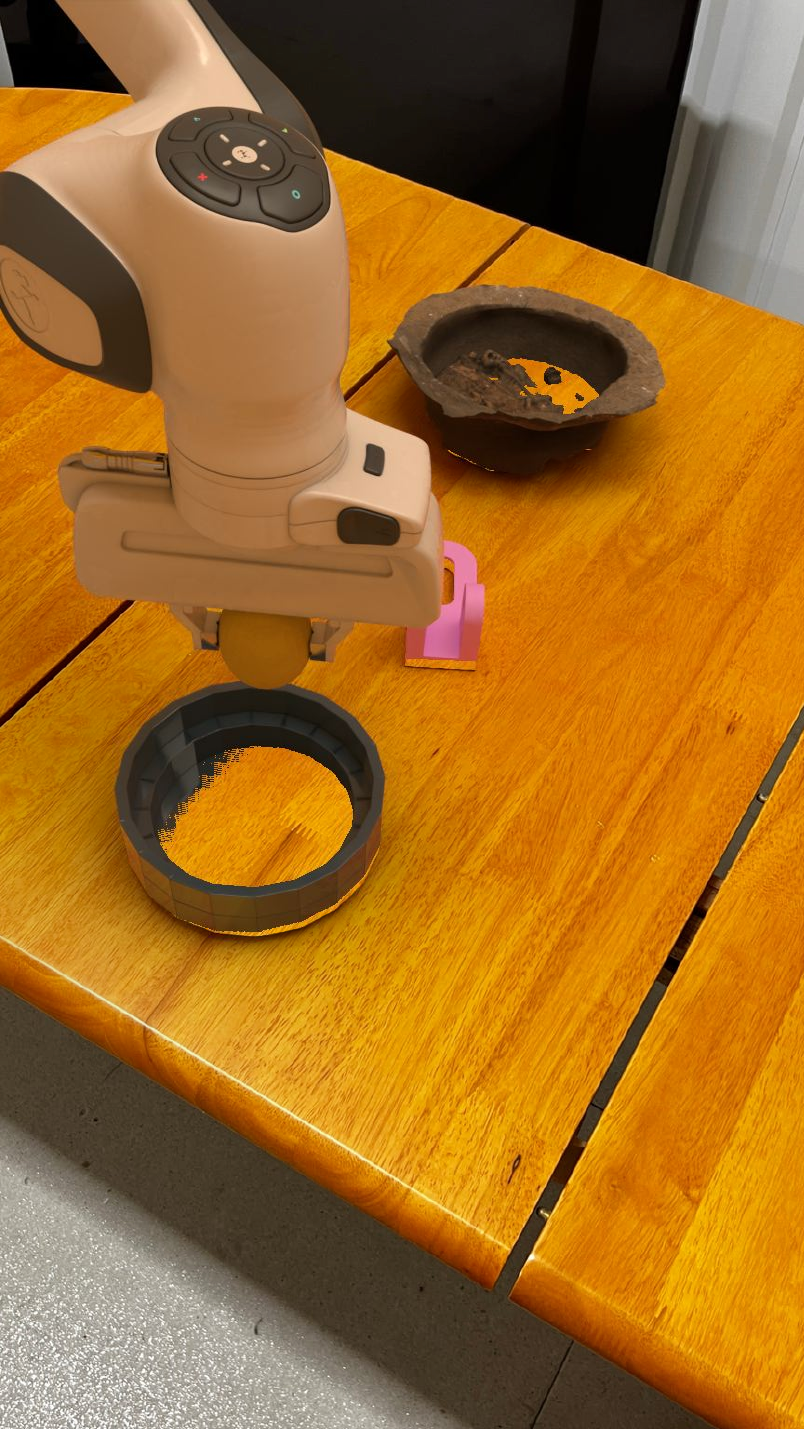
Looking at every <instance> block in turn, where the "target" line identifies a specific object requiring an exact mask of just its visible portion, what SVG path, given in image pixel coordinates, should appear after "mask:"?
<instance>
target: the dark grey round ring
mask: <svg viewBox="0 0 804 1429" xmlns="http://www.w3.org/2000/svg"><path fill="white" fill-rule="evenodd" d="M250 746H257V747H258V746H261V747H273V748H277V747H279V748H285V749H289V750H291V751H295V752H298V753H301V754H305V755H306V756H310V757H311V758H313V759H314V760H315V761H317V762H319V763H321V764H322V765H323V766H324V767H326V768H328V769H329V770H331V771H332V772H333V773H334V774H335V775H336V777H337V778H338V780H339V781H340V783H341V784H342V785H343V786H344V788H346V790H347V792H348V795H349V798H350V802H351V805H352V809H353V820H352V827H351V829H350V831H349V833H348V834H347V836H346V838H345V840H344V842H343V844H342V846H341V848H340V850H339V851H338V852H337V853H336V854H335V855H334V856H333V857H332V858H331V859H330V860H329V861H328V862H327V863H326V864H324V865H323V866H321V867H319V868H317V869H315V870H313V871H311V872H309V873H307V874H305V875H303V876H301V877H299V878H297V879H295V880H291V881H285V882H280V883H275V884H270V885H264V886H259V887H246V886H234V885H222V884H212V883H210V882H207V881H204V880H202V879H199V878H196V877H194V876H191V875H189V874H188V873H186V872H185V871H184V870H183V869H181V868H180V867H179V866H177V865H176V864H175V863H174V862H172V861H171V860H170V859H169V858H168V856H167V854H166V853H165V851H164V850H163V848H162V846H163V845H162V846H161V845H160V842H165V841H169V840H164V841H161V839H159V838H161V837H159V836H161V835H164V834H161V833H164V832H161V831H164V830H165V832H171V831H174V830H171V829H175V828H176V823H175V822H176V819H175V817H174V816H175V814H176V815H182V814H186V813H182V812H186V811H182V810H186V809H182V808H185V807H182V806H185V805H182V804H185V803H188V801H192V800H195V799H192V800H188V799H191V798H195V797H191V796H195V795H193V794H195V792H198V791H200V790H199V789H201V788H202V787H205V788H210V787H206V786H210V785H206V784H210V783H206V782H214V781H210V780H214V779H207V780H208V781H206V780H202V779H206V778H202V777H206V776H202V775H207V776H208V777H207V778H210V777H209V776H214V774H216V775H221V774H217V773H221V772H217V771H222V770H218V769H222V768H218V767H214V766H218V765H214V764H218V763H214V762H221V763H227V761H230V760H227V759H230V758H227V757H231V756H228V755H231V754H228V753H236V752H231V751H236V750H232V749H237V748H238V749H241V748H249V747H250ZM250 748H254V747H250ZM225 750H226V751H225ZM228 750H230V751H228ZM241 750H244V749H241ZM224 752H228V753H224ZM239 752H244V751H240V750H239ZM224 754H227V755H224ZM237 754H240V753H237ZM241 754H243V753H241ZM215 755H216V756H215ZM232 755H235V754H232ZM247 755H248V754H247ZM223 756H225V757H223ZM235 756H239V755H235ZM235 756H234V758H239V757H235ZM242 756H243V755H242ZM215 757H216V758H215ZM219 758H220V759H219ZM223 758H224V759H223ZM232 760H235V759H232ZM236 760H239V759H236ZM204 762H205V763H204ZM231 762H234V761H231ZM236 762H239V761H236ZM211 763H212V764H211ZM203 764H204V765H203ZM220 765H222V764H220ZM223 765H226V764H223ZM228 766H229V765H228ZM219 767H222V766H219ZM223 767H224V766H223ZM214 768H218V769H214ZM227 768H229V767H227ZM214 770H217V771H214ZM214 772H216V773H214ZM225 772H226V771H225ZM225 774H226V773H225ZM199 776H200V777H199ZM216 777H217V776H216ZM211 778H214V777H211ZM202 781H206V782H202ZM202 783H206V784H202ZM202 785H206V786H202ZM213 787H214V786H213ZM195 788H198V789H195ZM385 789H386V773H385V770H384V767H383V763H382V760H381V756H380V753H379V750H378V746H377V744H376V742H375V741H374V740H373V739H372V737H371V736H370V735H369V733H368V732H367V730H366V729H365V728H364V727H363V725H362V724H361V723H360V721H359V720H358V718H357V717H356V716H355V715H353V713H350V712H349V711H348V710H346V709H345V708H343V707H342V706H340V705H339V704H337V703H336V702H335V701H333V700H332V699H331V698H329V697H327V696H325V695H324V694H321V693H319V692H315V691H313V690H310V689H307V688H304V687H301V686H299V685H296V684H292V683H291V682H290V683H288V684H286V685H284V686H282V687H278V688H274V689H259V688H255V687H252V686H249V685H247V684H245V683H243V682H242V681H240V680H236V681H228V682H221V683H215V684H210V685H207V686H205V687H202V688H200V689H198V690H196V691H193V692H191V693H188V694H186V695H183V696H181V697H178V698H176V699H174V700H172V701H171V702H170V703H168V704H167V705H166V706H164V707H163V708H162V709H160V710H159V711H158V712H157V713H155V714H154V715H153V716H151V717H150V718H149V719H147V720H146V721H145V722H144V723H143V724H142V725H141V726H140V728H139V729H138V731H137V732H136V734H135V736H133V738H132V740H131V741H130V742H129V744H128V745H127V746H126V749H125V750H124V752H122V756H121V760H120V764H119V768H118V772H117V776H116V780H115V782H114V790H113V791H114V795H115V796H114V797H115V802H116V809H117V816H118V822H119V823H118V824H119V826H120V831H121V835H122V838H123V842H124V848H125V850H126V854H127V858H128V864H129V866H130V867H131V869H132V871H133V872H134V874H135V876H136V878H137V879H138V881H139V882H140V884H141V886H142V888H143V890H144V891H145V893H146V895H148V897H149V898H151V899H152V898H153V899H154V900H153V899H152V900H153V901H154V902H156V901H157V902H158V903H159V904H158V903H157V902H156V903H157V904H158V905H159V906H161V905H162V906H163V907H164V908H165V909H164V908H163V907H162V906H161V907H162V908H163V909H164V910H166V909H167V910H168V911H169V912H171V913H172V914H173V915H175V916H176V917H178V918H179V919H182V920H186V921H187V922H192V923H194V924H197V925H200V926H202V927H205V928H209V929H211V930H214V931H215V930H216V931H222V932H224V931H233V932H237V931H239V932H244V931H245V932H262V931H263V930H267V929H269V930H270V929H272V928H276V927H280V926H284V925H290V924H293V923H297V922H298V923H299V922H302V921H304V920H306V919H308V918H309V917H311V916H313V915H315V914H316V913H318V912H321V911H323V910H325V909H328V908H329V907H331V906H333V905H335V904H336V903H338V901H339V900H340V899H342V897H343V896H345V895H346V894H347V893H348V892H349V891H350V889H352V888H353V887H354V886H355V885H356V884H357V883H358V882H359V881H360V880H361V879H362V878H363V877H364V875H365V874H366V872H367V870H368V868H369V866H370V864H371V862H372V860H373V858H374V856H375V854H376V852H377V850H378V848H379V846H380V847H381V841H382V830H383V819H384V818H383V817H384V804H385V803H384V802H385ZM195 790H198V791H195ZM205 790H206V789H205ZM198 793H199V792H198ZM198 795H199V794H198ZM188 797H191V798H188ZM198 797H199V796H198ZM198 799H199V798H198ZM182 802H185V803H182ZM192 802H195V801H192ZM178 803H179V804H178ZM178 805H180V806H178ZM186 805H188V804H186ZM178 807H180V808H178ZM186 807H188V806H186ZM178 809H181V810H178ZM187 809H188V808H187ZM178 811H181V812H178ZM187 812H188V810H187ZM179 813H182V814H179ZM169 815H170V816H169ZM169 817H171V818H169ZM176 817H179V816H176ZM382 818H383V819H382ZM177 819H179V818H177ZM178 821H179V820H178ZM166 822H167V823H166ZM166 824H167V825H166ZM174 827H175V828H174ZM167 828H168V829H167ZM161 829H164V830H161ZM381 829H382V830H381ZM158 830H159V831H158ZM167 830H170V831H167ZM158 832H160V833H158ZM171 833H174V832H171ZM171 833H170V834H171ZM158 834H161V835H158ZM166 834H168V833H166ZM173 835H174V834H173ZM168 836H171V835H167V836H165V837H168ZM162 837H164V836H162ZM168 838H172V837H168ZM163 839H165V838H163ZM170 840H172V839H170ZM380 840H381V841H380ZM171 842H172V841H171ZM161 844H162V843H161ZM165 850H167V849H165ZM166 852H167V851H166ZM167 910H166V911H167ZM168 911H167V912H168ZM169 912H168V913H169ZM171 913H170V914H171ZM172 914H171V915H172ZM173 915H172V916H173ZM176 917H175V918H176ZM179 919H178V920H179ZM187 922H186V923H187Z"/></svg>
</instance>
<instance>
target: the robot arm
mask: <svg viewBox="0 0 804 1429" xmlns="http://www.w3.org/2000/svg"><path fill="white" fill-rule="evenodd" d="M55 2H56V3H57V5H59V7H60V8H61V10H63V12H64V13H65V14H66V16H67V17H68V18H69V20H71V22H72V23H73V24H74V26H75V27H76V29H78V31H79V32H80V33H81V35H82V36H83V37H84V38H85V40H87V42H88V43H89V44H90V46H91V47H92V48H93V49H94V51H95V52H96V53H97V55H98V56H99V57H100V58H101V60H103V62H104V63H105V64H106V66H107V67H108V68H109V69H110V71H111V72H112V73H113V75H114V76H115V77H116V78H117V79H118V81H119V82H120V83H121V84H122V86H123V87H124V89H125V90H126V91H127V92H128V94H129V95H130V97H131V99H132V100H133V102H134V103H132V104H130V105H128V106H126V107H124V108H122V109H120V110H118V111H116V112H114V113H112V114H110V115H108V116H106V117H104V118H102V119H100V120H98V121H96V122H94V123H92V124H89V125H88V126H83V127H80V128H77V129H75V130H73V131H70V132H68V133H67V134H65V135H62V136H60V137H59V138H57V139H55V140H53V141H51V142H49V143H47V144H45V145H43V146H41V147H39V148H38V149H35V150H33V151H31V152H30V153H28V154H26V155H24V156H22V157H21V158H19V159H17V160H15V161H14V162H13V163H10V164H9V165H8V166H7V167H5V169H3V170H2V171H0V311H1V314H2V315H3V317H4V319H5V320H6V322H7V323H8V325H9V327H10V328H11V330H12V331H13V332H14V334H15V335H16V336H17V337H18V338H19V339H20V341H21V342H23V344H24V345H26V346H27V347H28V348H29V349H30V350H32V351H34V352H35V353H36V354H38V355H39V356H41V357H43V358H44V359H46V360H48V361H49V362H51V363H53V364H55V365H58V366H60V367H63V368H65V369H67V370H70V371H73V372H75V373H77V374H80V375H82V376H85V377H88V378H90V379H93V380H96V381H99V382H101V383H103V384H105V385H109V386H112V387H115V388H118V389H121V390H124V391H127V392H131V393H135V394H146V393H148V392H151V393H153V394H154V395H155V396H156V397H158V398H159V400H160V401H161V402H162V405H163V425H164V432H165V440H166V441H165V442H166V449H167V452H157V451H147V450H118V449H111V447H107V446H100V445H88V446H84V447H82V450H81V452H75V453H71V454H69V455H67V456H66V457H64V458H63V459H62V460H61V461H60V463H59V465H58V466H57V480H58V484H59V487H60V493H61V498H62V500H63V502H64V504H65V505H66V507H67V508H68V509H69V510H70V511H71V512H72V513H74V517H73V518H74V519H73V534H72V535H73V536H72V537H73V560H74V568H75V574H76V579H77V582H78V584H80V585H81V586H82V587H83V588H85V590H87V591H88V592H89V593H90V594H92V595H93V596H95V597H98V598H105V599H114V600H115V599H116V600H126V601H127V600H128V601H137V602H147V603H158V604H165V605H166V604H167V605H168V610H169V613H170V614H171V615H172V616H173V617H174V618H175V619H176V620H177V621H178V622H179V623H180V624H181V625H182V626H183V627H184V628H185V629H187V631H188V632H191V637H192V638H191V639H192V647H193V649H194V650H198V651H199V650H200V651H202V650H203V651H213V652H214V651H215V652H219V651H220V646H219V640H218V631H219V622H220V617H221V613H222V611H214V610H208V608H209V609H219V610H223V609H227V610H237V611H247V612H257V613H267V614H277V615H287V616H298V617H308V618H310V619H319V620H326V621H313V620H312V624H311V625H312V635H311V638H310V658H309V661H316V662H324V663H325V662H326V663H335V658H336V651H337V646H338V645H339V644H340V643H341V642H342V641H344V639H345V638H346V637H348V636H349V635H350V634H351V633H352V632H353V631H354V628H355V623H360V624H369V625H379V626H390V627H400V628H406V627H408V628H417V629H423V628H426V627H428V626H429V625H431V624H432V623H434V622H435V621H436V620H438V619H439V618H440V615H441V606H442V605H443V596H444V576H445V568H444V540H445V532H444V524H443V516H442V511H441V507H440V504H439V502H438V499H437V497H436V496H435V494H434V493H433V492H432V464H431V463H432V462H431V461H432V460H431V453H430V448H429V445H428V444H427V443H426V442H425V441H424V440H423V439H421V438H420V437H418V436H416V435H413V434H410V433H409V432H405V431H403V430H401V429H398V428H395V427H392V426H390V425H387V424H385V423H382V422H379V421H377V420H374V419H372V418H370V417H367V416H365V415H363V414H361V413H359V412H357V411H355V410H352V409H350V408H348V407H347V406H346V401H345V398H344V395H343V394H344V393H343V391H342V389H341V375H342V373H343V370H344V367H345V365H346V363H347V359H348V354H349V350H350V337H351V336H350V334H351V333H350V332H351V275H350V274H351V273H350V256H349V246H348V236H347V229H346V223H345V216H344V212H343V208H342V204H341V201H340V200H341V199H340V196H339V192H338V188H337V186H336V183H335V179H334V177H333V174H332V172H331V169H330V166H329V165H328V163H327V159H326V154H325V151H324V148H323V144H322V142H321V139H320V137H319V133H318V131H317V129H316V127H315V124H314V123H313V122H312V119H311V118H310V116H309V114H308V113H307V111H306V110H305V108H304V107H303V105H302V104H301V103H300V101H299V99H297V98H296V96H295V95H294V94H293V93H292V91H291V90H290V89H289V88H288V87H287V86H286V84H284V83H283V82H282V81H281V80H280V79H279V77H278V76H276V74H274V73H273V72H272V71H271V70H270V69H269V67H268V66H266V65H265V64H264V62H262V61H261V60H260V59H259V57H257V56H256V55H255V54H254V53H253V52H252V51H251V50H250V49H249V48H248V47H247V46H246V45H245V44H244V43H243V42H242V41H241V39H239V38H238V37H237V35H236V34H235V33H234V32H233V31H232V30H231V29H230V27H229V26H228V25H227V23H225V21H224V20H223V19H222V17H221V16H220V14H218V13H217V11H216V10H215V8H214V7H213V6H212V5H211V4H210V2H209V0H55Z"/></svg>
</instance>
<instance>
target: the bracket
mask: <svg viewBox="0 0 804 1429" xmlns="http://www.w3.org/2000/svg"><path fill="white" fill-rule="evenodd" d="M444 559H448V560H450V561H451V562H453V564H454V600H453V599H452V601H451V602H450V603H447V604H442V606H441V615H440V618H439V619H438V620H436V621H435V622H434V623H432V624H431V625H429V626H428V627H426V628H423V629H417V628H408V627H407V630H406V629H405V646H406V653H405V652H404V660H405V659H428V660H455V661H477V662H478V656H479V651H480V643H481V637H482V630H483V625H484V624H483V623H484V615H485V596H486V594H485V591H486V590H485V584H484V583H478V563H477V560H476V557H475V556H474V554H473V553H472V552H471V551H470V549H468V548H467V547H466V546H464V545H463V544H460V543H457V542H454V541H451V540H446V539H444Z"/></svg>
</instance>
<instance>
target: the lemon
mask: <svg viewBox="0 0 804 1429" xmlns="http://www.w3.org/2000/svg"><path fill="white" fill-rule="evenodd" d="M221 610H222V611H221V617H220V622H219V631H218V640H219V646H220V649H219V651H220V653H221V657H222V660H223V661H224V663H225V665H226V666H227V668H228V670H229V671H230V673H231V674H232V675H233V676H234V677H235V678H237V679H238V681H242V682H243V683H245V684H247V685H249V686H252V687H255V688H259V689H274V688H278V687H282V686H284V685H286V684H289V683H290V684H291V683H292V682H293V681H295V680H296V679H297V678H298V677H299V676H300V675H301V674H302V673H303V672H304V670H305V668H306V666H307V664H308V662H309V661H310V638H311V635H312V625H313V624H312V621H311V618H308V617H298V616H287V615H277V614H267V613H257V612H247V611H237V610H227V609H221Z"/></svg>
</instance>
